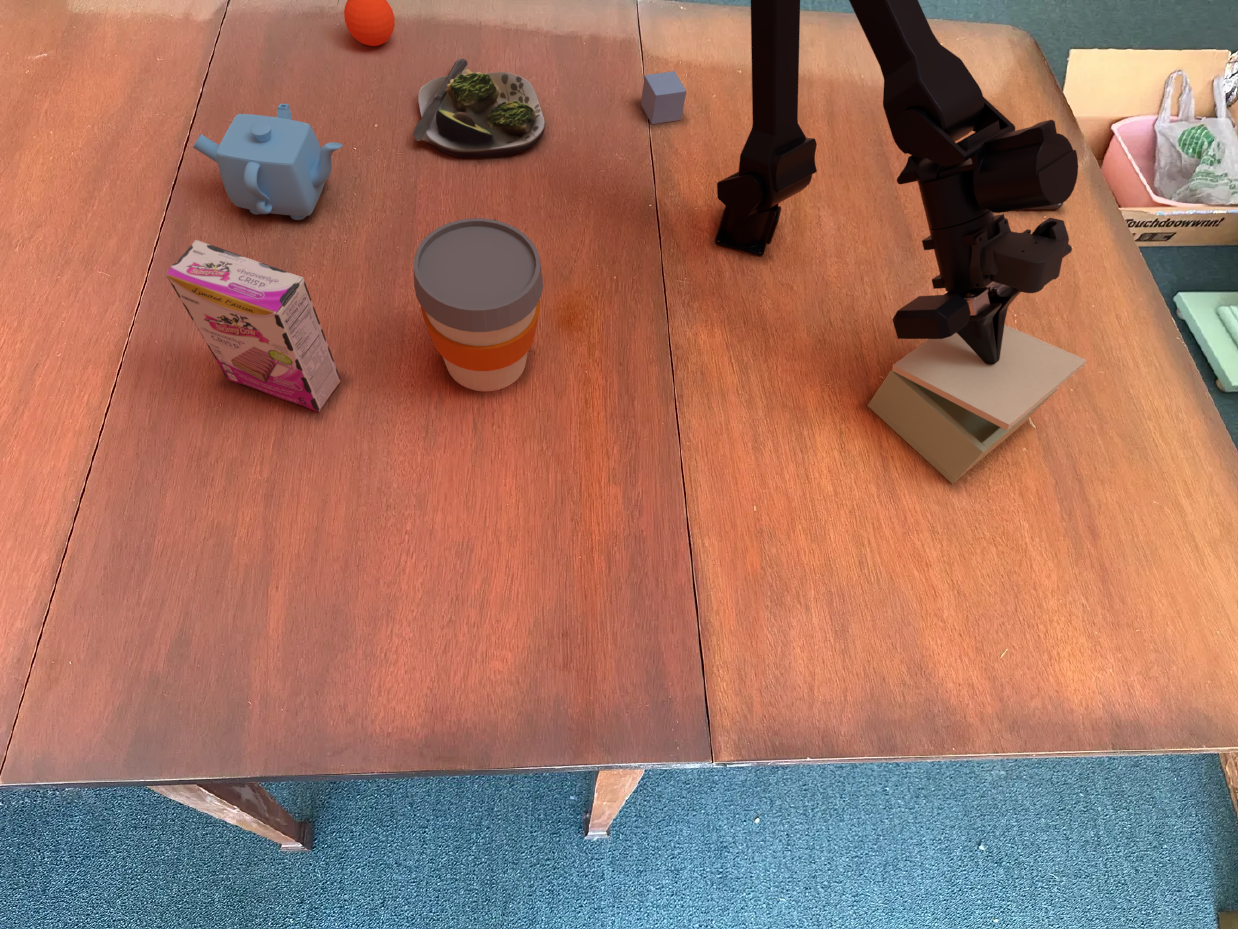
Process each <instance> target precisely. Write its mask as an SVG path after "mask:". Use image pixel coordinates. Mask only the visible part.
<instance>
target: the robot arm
mask: <svg viewBox="0 0 1238 929" xmlns="http://www.w3.org/2000/svg"><path fill="white" fill-rule="evenodd" d="M848 2H849V3H850V5H851V8H852V10H853V12H854V14H855V17H856V18H857V20H858V23H859V25H860V27H861V29H862V31H863V33H864V36H865V37H866V40H867V42H868V44H869V47H870V48H871V51H872V52H873V54H874V57H875V59H876V61H877V63H878V65H879V68H880V71H881V74H882V77H883V93H882V94H883V95H882V107H883V110H884V114H885V118H886V120H887V124H888V127H889V130H890V133H891V136H892V139H893V142H894V143H895V145H896V146H897V148H898V149H899V150H900V151H901V152H902V153H903V154H905V155H907V154H908V155H909V156H908V157H907V161H906V164H905V166H904V168H902V170H901V172H900V174H898V176H897V178H896V183H897V184H898V185H906V184H910V183H914V182H917V186H918V189H919V193H920V197H921V201H922V205H923V210H924V213H925V218H926V222H927V225H928V232H929V234H930V235H928V236H926V237H925V238H924V239H922V240H921V243H922V248H923V251H930V250H931V251H932V250H933V251H934V255H935V258H936V259H935V260H936V263H937V267H938V268H937V269H938V272H939V273H938V275H936V276H934V277H933V278H931V283H932V287H933V289H934V290H936V289H937V290H938V289H944V290H945V291H946V293H944V294H933V295H931V294H930V295H919V296H917V297H916V298H914V299H912V300H911V301H910V302H908V303H907V304H905V305H903V306H902V307H901V308H899V309H898V310H897V311H896V312H895V314H894V316H893V318H891V319H892V324H893V327H894V331H895V334H896V337H897V340H928V339H944V338H947V337H951V336H952V335H953V334H955V333H957V334H958V335H959V336H960V337H961V338H962V339H963V340H964V341H965V342H966V343H967V344H968V345H969V346H970V347H971V348H972V350H973V351H974V352H975V353H976V354H977V355H978V356H979V357H980V358H981V359H982V360H983V361H984V363H985V364H990V365H994V364H995V363H997V362H998V361H999V360H1000V353H1001V346H1002V338H1003V331H1004V325H1006V319H1007V314H1008V309H1009V306H1010V305H1011V303H1013V301H1015V299H1016V298H1017V297H1018V296H1019V295H1020V294H1021V293H1025V294H1036V293H1039V292H1040V291H1043V289H1044V288H1045V286H1046V285H1048V284H1049V283H1051V282H1052V281H1053V280H1056V279H1058V278H1059V277H1060V274H1061V268H1062V264H1063V258H1065V257H1066V256H1068V255H1069V254H1070V253H1071V252H1072V251H1073V247H1072V246H1071V244H1069V243H1070V242H1069V241H1070V237H1069V233H1068V231H1067V227H1066V224H1065V223H1066V222H1065V221H1064V220H1063V219H1058V218H1054V217H1048V218H1046V219H1045V220H1044V221H1042V222H1041V223H1039V225H1037V226H1036V228H1035V229H1034V230H1033V232H1032V230H1031V229H1029V228H1028V229H1025V230H1024V231H1022V232H1018V231H1012V230H1011V227H1010V224H1009V219H1008V218H1006V217H1005V214H1003V213H1009V212H1015V211H1021V210H1023V211H1024V210H1030V209H1029V208H1036V207H1043V206H1050V205H1057V204H1061V203H1063V204H1064V203H1065V202H1067V200H1068V199H1069V198H1070V197H1071V196H1072V194H1073V192H1074V190H1075V188H1076V183H1077V180H1078V174H1079V159H1078V158H1079V157H1078V153H1077V150H1076V149H1073V146H1072V144H1071V142H1070V140H1069V139H1068V137H1066V136H1065V135H1064V134H1061V133H1059V132H1058V131H1057V127H1056V121H1055V120H1054V119H1048V120H1044V121H1040V122H1037V123H1035V124H1034V125H1032V126H1029V127H1025V128H1021V129H1017V130H1016V125H1015V124H1013V123H1012V122H1011V121H1010V120H1009V119H1008V118H1007V117H1006V116H1005V115H1004V114H1003V113H1001V111H999V109H997V108H996V107H995V106H994V105H993V104H992V103H991V102H990V101H989V100H988V99H986V97H984V95H983V90H982V89H981V87H980V85H979V84H978V82H977V81H976V79H975V78H974V76H973V75H972V73H971V72H970V71H969V69H968V68H967V66H966V64H965V63H964V62H963V60H962V58H960V57H959V56H958V55H956V54H955V53H954V52H952V51H951V50H949V49H947V48H946V47H945V46H944V45H942V44H941V43H940V41H939V39H937V37H936V35H935V34H934V33H933V31H932V28H931V26H930V24H929V22H928V19H927V16H926V15H925V13H924V10H923V8H922V6H921V4H920V2H919V0H848ZM800 19H801V0H750V39H751V40H750V42H751V43H750V47H751V48H750V50H751V104H752V105H751V106H752V110H751V111H752V112H751V113H752V126H751V130H750V132H749V134H748V136H747V138H746V141H745V142H744V145H743V148H742V150H741V153H740V155H739V162H738V171H737V172H735V173H733V174H731V175H729V176H727V177H725V178H723V179H721V180H719V181H717V182H716V192H717V200H719V201H720V202H721V203H722V204H723V205H724V208H723V211H722V214H721V217H720V220H719V225H718V228H717V231H716V235H715V238H714V244H715V245H717V246H720V247H723V248H728V249H731V250H735V251H739V252H742V253H746V254H750V255H753V256H757V257H763V256H765V251H766V249H767V248H766V247H767V245H771V244H772V240H773V238H774V235H775V232H776V229H777V227H778V223H779V220H780V216H781V212H782V206H781V205H779V204H780V203H782V202H784V201H786V200H788V199H789V198H791V197H792V196H795V195H797V194H798V193H800V192H802V191H804V189H806V188H807V187H808V186H810V184H811V182H812V179H813V175H814V174H815V173H816V174H817V172H818V170H817V166H816V151H817V147H818V146H817V140H816V139H815V137H807V135H806V134H805V132H804V130H803V129H802V127H801V126H800V124H799V118H798V117H799V74H800V73H799V71H800V29H801V20H800ZM971 132H973V133H972V134H970V133H971ZM964 137H965V138H964ZM962 138H963V139H962ZM960 139H961V140H960ZM994 214H995V215H994ZM996 214H997V215H996Z"/></svg>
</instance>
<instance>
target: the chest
mask: <svg viewBox="0 0 1238 929" xmlns="http://www.w3.org/2000/svg"><path fill="white" fill-rule="evenodd" d="M1057 391H1058V388H1057V389H1056V390H1055V391H1054V392H1053V393H1051V394H1050V395H1049V396H1048V397H1047V398H1045V399H1044V400H1043V401H1042V402H1041V403H1039V404H1038V405H1037V406H1036V407H1035V408H1034V409H1032V410H1031V411H1030V412H1029V413H1028V414H1026V415H1025V416H1024V417H1023V418H1022V419H1020V420H1019V421H1018V422H1017V423H1016V424H1015V425H1013V426H1012V427H1011V428H1010V429H1009V430H1005V429H1003V428H1001V427H999V426H997V425H995V424H994V423H992V422H990V421H988V420H986V419H984V418H982V417H980V416H978V415H976V414H974V413H972V412H971V411H969V410H967V409H965V408H963V407H961V406H959V405H957V404H955V403H953V402H951V401H949V400H948V399H946V398H944V397H942V396H940V395H938V394H936V393H934V392H932V391H930V390H928V389H926V388H925V387H923V386H921V385H919V384H917V383H915V382H913V381H911V380H909V379H907V378H905V377H903V376H902V375H900V374H898V373H896V372H894V371H892V369H890V371H889V372H888V374H887V375H886V377H885V378H884V380H883V382H882V383H881V384H880V386H879V387H878V389H877V390H876V392H875V393H874V395H873V396H872V398H871V400H870V401H869V402H868V404H867V408H869V409H870V410H871V411H872V412H873V413H875V415H877V416H878V417H879V419H881V420H882V421H883V422H885V424H887V426H888V427H890V428H891V429H892V430H893V431H894V432H895V433H896V434H898V436H900V437H901V438H902V439H903V441H905V442H906V443H907V444H908V445H909V446H910V447H912V449H913V450H915V451H916V452H917V453H918V454H919V455H920V456H921V457H922V458H923V459H924V460H926V462H927V463H929V465H931V466H932V467H933V468H934V469H935V470H936V471H937V472H939V474H940V475H941V476H943V477H944V478H945V479H946V480H947V481H948V482H949V483H951V484H952V485H953V484H954V483H956V482H957V481H958V480H959V479H960V478H961V477H962V476H964V475H965V474H966V473H967V472H968V471H969V470H971V469H972V468H973V467H974V466H975V465H977V464H978V463H979V462H980V461H981V460H983V458H985V457H986V456H987V455H988V454H989V453H991V452H992V451H993V450H994V449H996V448H997V447H998V446H999V445H1001V443H1002V442H1004V441H1005V440H1006V439H1007V438H1009V437H1010V436H1011V435H1012V434H1013V433H1014V432H1016V431H1017V430H1018V429H1019V428H1020V427H1022V426H1023V425H1024V424H1025V423H1026V422H1027V421H1028V420H1029V419H1030V418H1031V417H1032V416H1033V415H1034V414H1035V413H1036V412H1037V411H1038V410H1039V409H1040V408H1041V407H1042V406H1043V405H1044V404H1045V403H1046V402H1047V401H1048V400H1049V399H1050V398H1051V397H1052V396H1053V395H1054V394H1055V393H1056V392H1057Z"/></svg>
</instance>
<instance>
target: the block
mask: <svg viewBox="0 0 1238 929" xmlns="http://www.w3.org/2000/svg"><path fill="white" fill-rule="evenodd" d="M641 91H642V92H641V100H640V106H641V108H642V109H643V111H644V113H645V116H646V117H647V119H648V120H649V122H650V124H651V125H657V124H664V123H671V122H676V121H682V118H683V114H684V113H683V112H684V107H685V102H686V96H687V89H686V87H685V86H684V84H683V82H682V81H681V80H680V78H679V76H678V74H677V73H676V71H675V70H672V71H665V72H658V73H657V72H656V73H650V74H644V77H643V85H642V90H641Z"/></svg>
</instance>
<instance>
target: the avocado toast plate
mask: <svg viewBox="0 0 1238 929" xmlns="http://www.w3.org/2000/svg"><path fill="white" fill-rule="evenodd" d="M468 66H469V62H468V61H467V59H465V58H458V59H457V60H455V61H454V63H453V65H452V67H451V68H450V71H449V73H448V75H447V74H446V75H443V76H437V77H434V78H432V79H431V80H429V81H427V82H426V83H425V84H424V85H422V86H421V87H420V89H419V90H418V96H417V97H418V98H417V100H418V101H417V102H418V108H419V113H420V116H421V119H420V120H418V121H417V123H416V125H415V127H414V130H413V133H412V136H413V137H414V139H415V140H416V142H418V141H422V142H425V143H429V144H430V145H432V146H434V147H435V148H437V149H438V150H439V151H441V152H443V153H445V154H446V155H449V156H451V157H455V158H459V159H460V158H461V159H494V158H496V159H497V158H503V157H511V156H514V155H515V156H516V155H517V154H520V153H522V152H525V151H527V150H529V149H530V148H532V147H533V146H534V145H535V144H537V142H538V141H540V140H541V138H542V136H543V134H544V132H545V127H546V120H545V117H544V113H543V111H542V108H541V105H540V101H539V99H538V98H539V97H538V95H537V93H536V91H535V88H534V86H533V84H532V83H531V82H530V81H529V80H527V79H526V78H524V77H522V76H521V75H518V74H516V73H513V72H507V71H496V72H495V71H494V72H485V73H484V72H481V71H477V72H473V71H471V68H470V67H468Z"/></svg>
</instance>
